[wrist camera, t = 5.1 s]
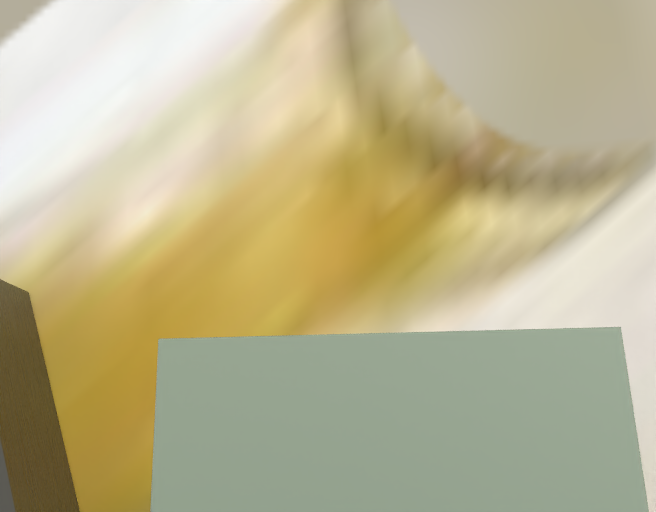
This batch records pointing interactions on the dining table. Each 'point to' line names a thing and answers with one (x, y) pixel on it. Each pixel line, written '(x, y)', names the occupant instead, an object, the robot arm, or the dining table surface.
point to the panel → (397, 423)
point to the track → (28, 417)
